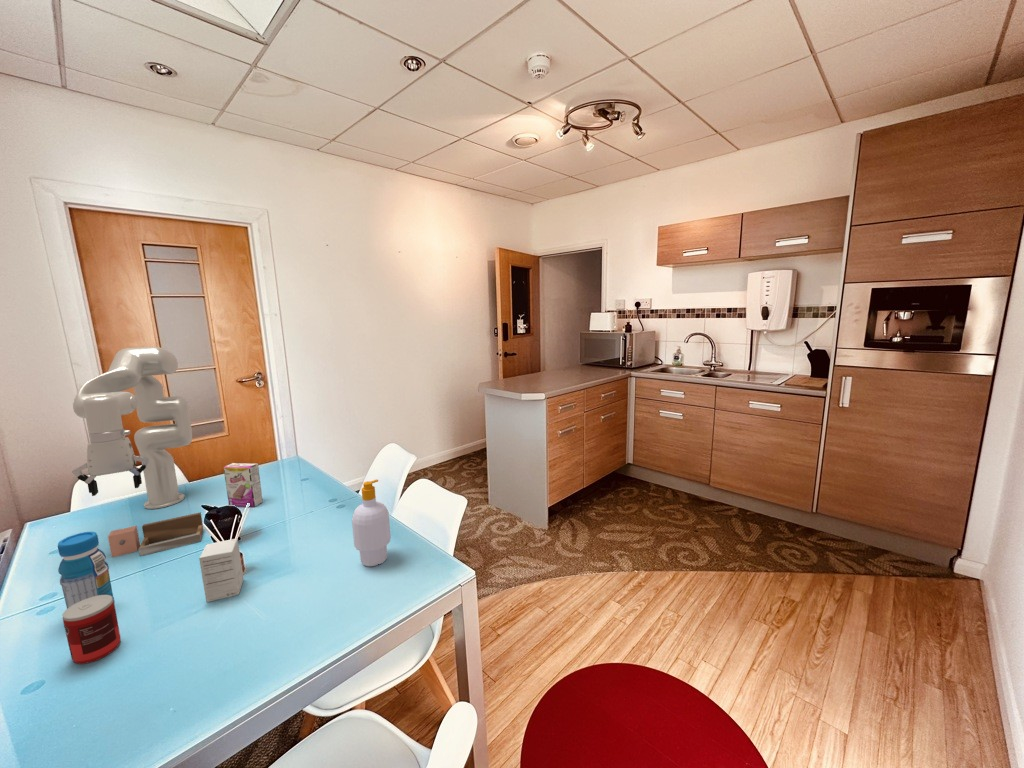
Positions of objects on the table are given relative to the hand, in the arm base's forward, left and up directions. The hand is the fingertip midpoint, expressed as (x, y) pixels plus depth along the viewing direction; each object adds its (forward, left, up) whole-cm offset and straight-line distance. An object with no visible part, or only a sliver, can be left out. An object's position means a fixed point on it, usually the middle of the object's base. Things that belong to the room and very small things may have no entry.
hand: (116, 490), depth 127 cm
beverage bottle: (+31, -1, -21) cm, 38 cm away
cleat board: (0, +11, -21) cm, 24 cm away
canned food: (+49, +4, -21) cm, 54 cm away
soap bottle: (+48, +64, -21) cm, 83 cm away
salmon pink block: (-2, -1, -21) cm, 21 cm away
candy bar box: (-20, +31, -21) cm, 42 cm away
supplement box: (+40, +27, -21) cm, 53 cm away
